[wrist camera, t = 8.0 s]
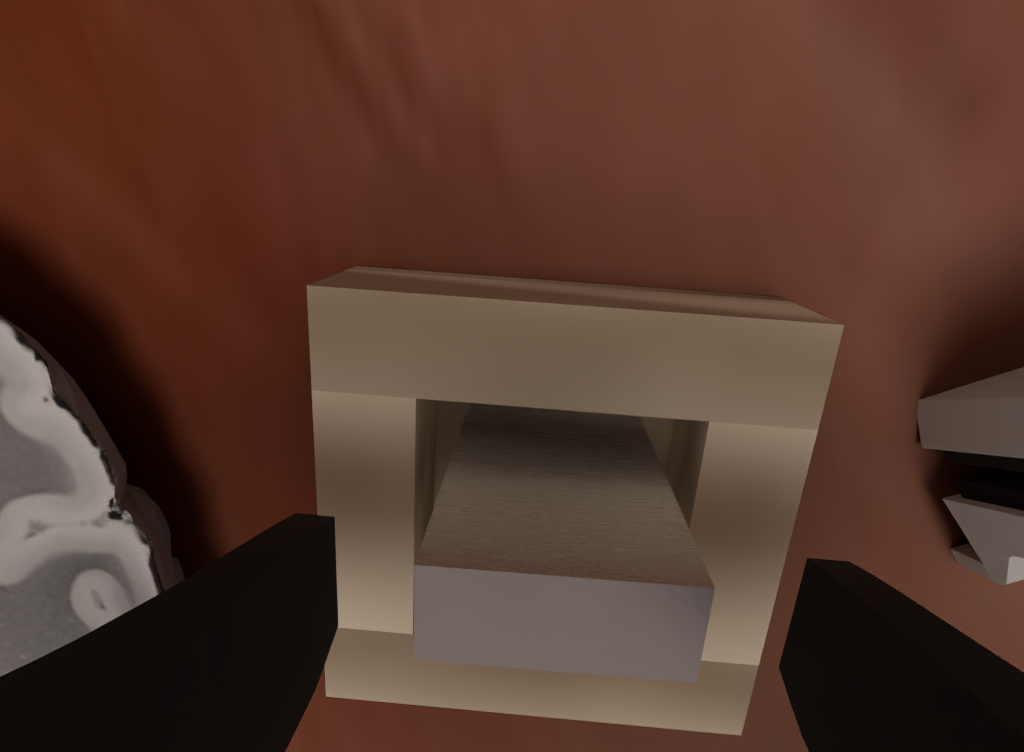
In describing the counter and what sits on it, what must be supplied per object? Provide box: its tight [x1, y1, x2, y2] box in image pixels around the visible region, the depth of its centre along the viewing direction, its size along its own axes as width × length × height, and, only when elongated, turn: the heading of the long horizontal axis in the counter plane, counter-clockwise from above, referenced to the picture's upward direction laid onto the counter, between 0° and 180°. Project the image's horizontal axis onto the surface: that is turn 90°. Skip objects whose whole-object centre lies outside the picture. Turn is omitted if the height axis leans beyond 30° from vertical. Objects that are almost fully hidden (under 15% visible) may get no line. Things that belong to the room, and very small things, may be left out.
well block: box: [307, 266, 844, 735], centre depth 14 cm, size 10×10×3 cm
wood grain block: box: [414, 403, 715, 683], centre depth 11 cm, size 4×4×6 cm
